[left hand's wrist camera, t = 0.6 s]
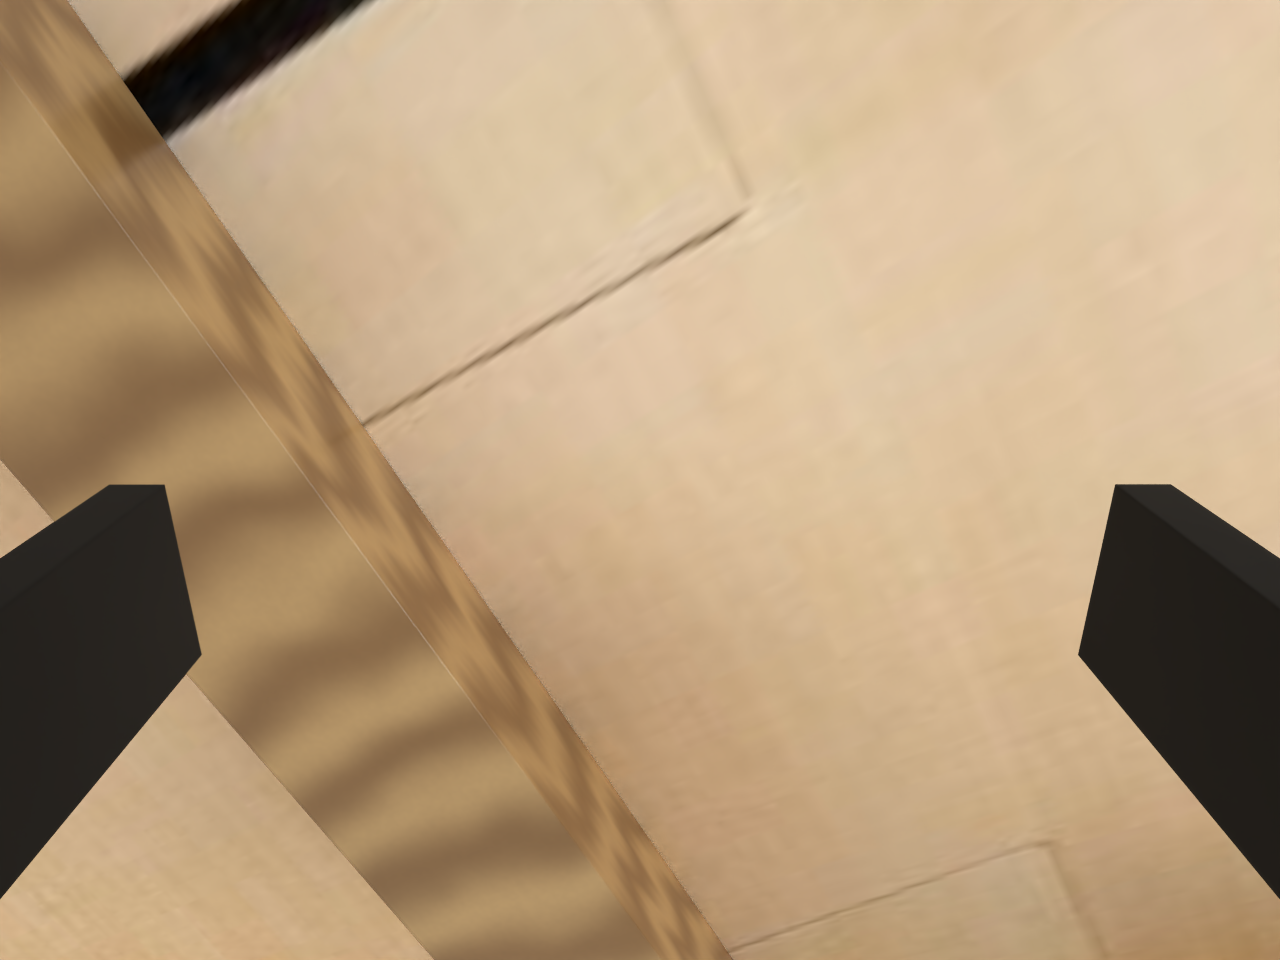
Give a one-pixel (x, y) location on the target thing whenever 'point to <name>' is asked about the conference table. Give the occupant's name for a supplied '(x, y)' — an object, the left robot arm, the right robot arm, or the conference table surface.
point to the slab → (293, 541)
